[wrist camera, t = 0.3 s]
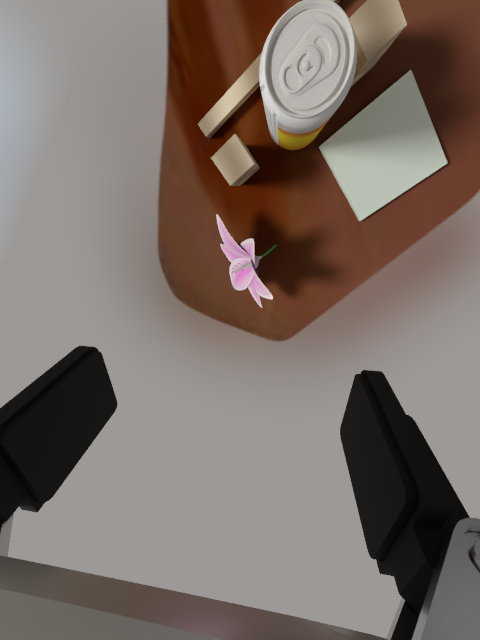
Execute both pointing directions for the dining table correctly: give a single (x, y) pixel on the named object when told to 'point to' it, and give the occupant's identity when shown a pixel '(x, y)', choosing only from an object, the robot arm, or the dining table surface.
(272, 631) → the robot arm
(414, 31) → the dining table surface
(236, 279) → the lily
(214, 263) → the dining table surface
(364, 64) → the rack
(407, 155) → the mat
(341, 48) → the beer can
